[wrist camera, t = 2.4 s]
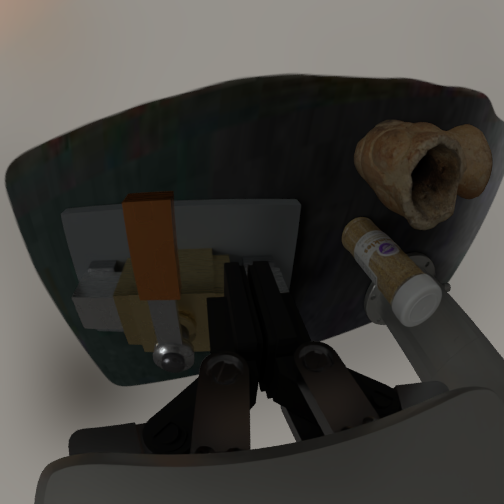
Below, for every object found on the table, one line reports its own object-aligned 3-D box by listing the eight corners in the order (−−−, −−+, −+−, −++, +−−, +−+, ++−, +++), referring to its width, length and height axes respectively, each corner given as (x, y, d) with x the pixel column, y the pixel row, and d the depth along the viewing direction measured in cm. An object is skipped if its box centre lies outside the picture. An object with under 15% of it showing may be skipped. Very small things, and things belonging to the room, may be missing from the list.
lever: (195, 358, 22) (196, 377, 20) (158, 359, 21) (156, 377, 20) (178, 190, 15) (175, 203, 13) (123, 194, 14) (113, 206, 13)
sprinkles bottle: (367, 208, 30) (443, 276, 18) (377, 238, 32) (444, 309, 20) (334, 228, 30) (398, 308, 19) (347, 257, 33) (404, 337, 21)
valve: (276, 246, 29) (304, 307, 21) (271, 299, 32) (291, 364, 24) (85, 252, 26) (51, 313, 18) (101, 304, 29) (79, 367, 21)
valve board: (296, 199, 28) (301, 204, 27) (280, 317, 36) (283, 325, 35) (66, 208, 24) (60, 214, 23) (100, 322, 32) (97, 330, 31)
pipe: (446, 183, 29) (500, 216, 21) (342, 198, 29) (393, 243, 20) (449, 116, 25) (511, 135, 16) (338, 113, 24) (399, 127, 15)
